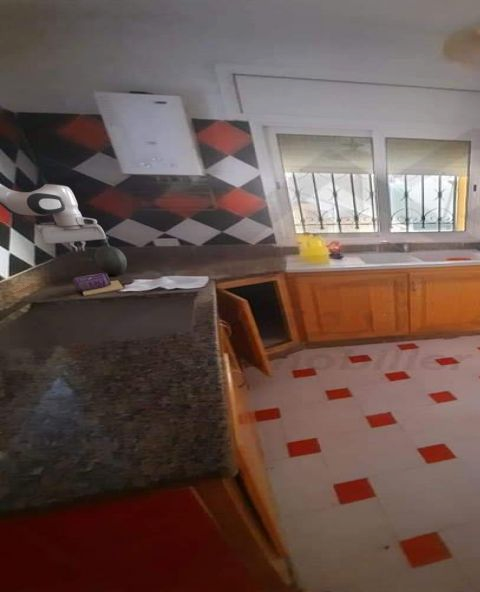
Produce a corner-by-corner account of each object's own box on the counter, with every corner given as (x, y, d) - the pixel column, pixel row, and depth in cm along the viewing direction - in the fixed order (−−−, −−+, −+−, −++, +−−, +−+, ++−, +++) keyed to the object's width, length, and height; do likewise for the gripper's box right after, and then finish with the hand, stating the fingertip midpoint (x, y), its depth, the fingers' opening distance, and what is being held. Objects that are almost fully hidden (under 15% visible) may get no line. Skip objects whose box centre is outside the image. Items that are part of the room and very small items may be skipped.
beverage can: (74, 282, 154) (107, 276, 162) (79, 294, 153) (112, 288, 161) (70, 275, 149) (104, 269, 157) (76, 287, 148) (110, 281, 156)
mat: (84, 295, 148) (83, 294, 147) (81, 287, 160) (80, 286, 160) (123, 288, 157) (123, 287, 157) (118, 281, 170) (117, 280, 170)
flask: (106, 279, 173) (91, 239, 165) (99, 274, 182) (84, 236, 175) (133, 275, 182) (120, 236, 174) (125, 270, 191) (112, 234, 184)
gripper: (34, 223, 136) (47, 255, 140) (100, 220, 150) (110, 248, 155) (35, 222, 140) (47, 253, 144) (99, 219, 154) (108, 247, 159)
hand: (80, 250), depth 150 cm, fingers closed
